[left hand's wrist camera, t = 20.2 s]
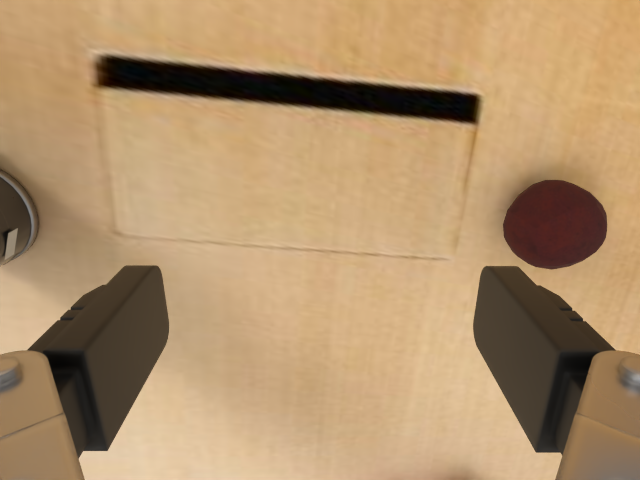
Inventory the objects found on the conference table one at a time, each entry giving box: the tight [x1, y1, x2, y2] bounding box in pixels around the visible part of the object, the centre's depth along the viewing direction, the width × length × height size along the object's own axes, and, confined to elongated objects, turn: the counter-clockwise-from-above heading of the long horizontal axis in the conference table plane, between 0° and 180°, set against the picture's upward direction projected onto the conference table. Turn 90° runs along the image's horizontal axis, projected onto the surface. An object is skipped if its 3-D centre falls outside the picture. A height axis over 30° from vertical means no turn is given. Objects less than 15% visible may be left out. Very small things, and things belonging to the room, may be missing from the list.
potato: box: [503, 180, 607, 269], centre depth 37 cm, size 7×8×7 cm
